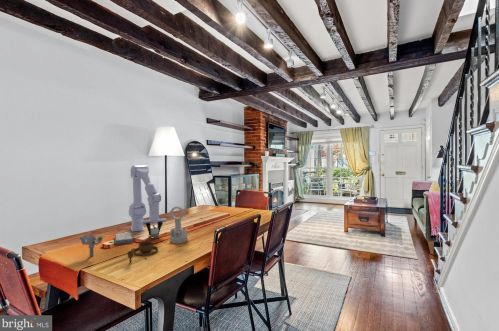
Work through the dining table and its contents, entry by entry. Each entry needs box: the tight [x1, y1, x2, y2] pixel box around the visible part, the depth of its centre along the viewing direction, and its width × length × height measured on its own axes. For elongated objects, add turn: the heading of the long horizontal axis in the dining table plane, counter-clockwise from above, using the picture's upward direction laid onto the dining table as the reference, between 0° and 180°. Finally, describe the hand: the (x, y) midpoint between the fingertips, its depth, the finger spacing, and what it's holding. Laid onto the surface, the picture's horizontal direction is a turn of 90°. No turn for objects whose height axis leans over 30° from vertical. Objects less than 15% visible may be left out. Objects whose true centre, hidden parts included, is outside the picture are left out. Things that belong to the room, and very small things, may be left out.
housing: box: [149, 224, 160, 239], centre depth 159 cm, size 8×4×7 cm, turn 28°
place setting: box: [127, 241, 159, 265], centre depth 130 cm, size 18×20×6 cm
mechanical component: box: [79, 234, 103, 258], centre depth 126 cm, size 3×10×10 cm, turn 89°
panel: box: [114, 231, 134, 246], centre depth 151 cm, size 14×9×2 cm, turn 28°
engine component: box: [169, 205, 188, 244], centre depth 153 cm, size 11×20×10 cm
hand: (153, 234), depth 159 cm, fingers closed on housing, 4 cm apart
